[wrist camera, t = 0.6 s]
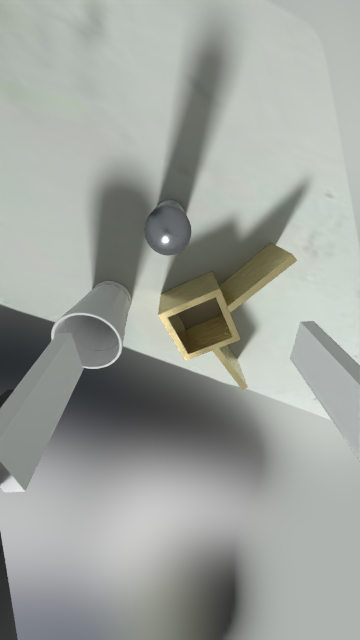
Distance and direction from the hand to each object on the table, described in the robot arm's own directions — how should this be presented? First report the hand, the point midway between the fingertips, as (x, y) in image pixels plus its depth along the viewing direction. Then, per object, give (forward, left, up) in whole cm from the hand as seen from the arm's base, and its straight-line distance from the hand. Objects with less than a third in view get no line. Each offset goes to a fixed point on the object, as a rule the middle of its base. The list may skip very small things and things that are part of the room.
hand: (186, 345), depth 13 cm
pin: (-5, +1, -23) cm, 23 cm away
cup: (+2, -13, -23) cm, 27 cm away
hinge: (+14, +4, -23) cm, 27 cm away
